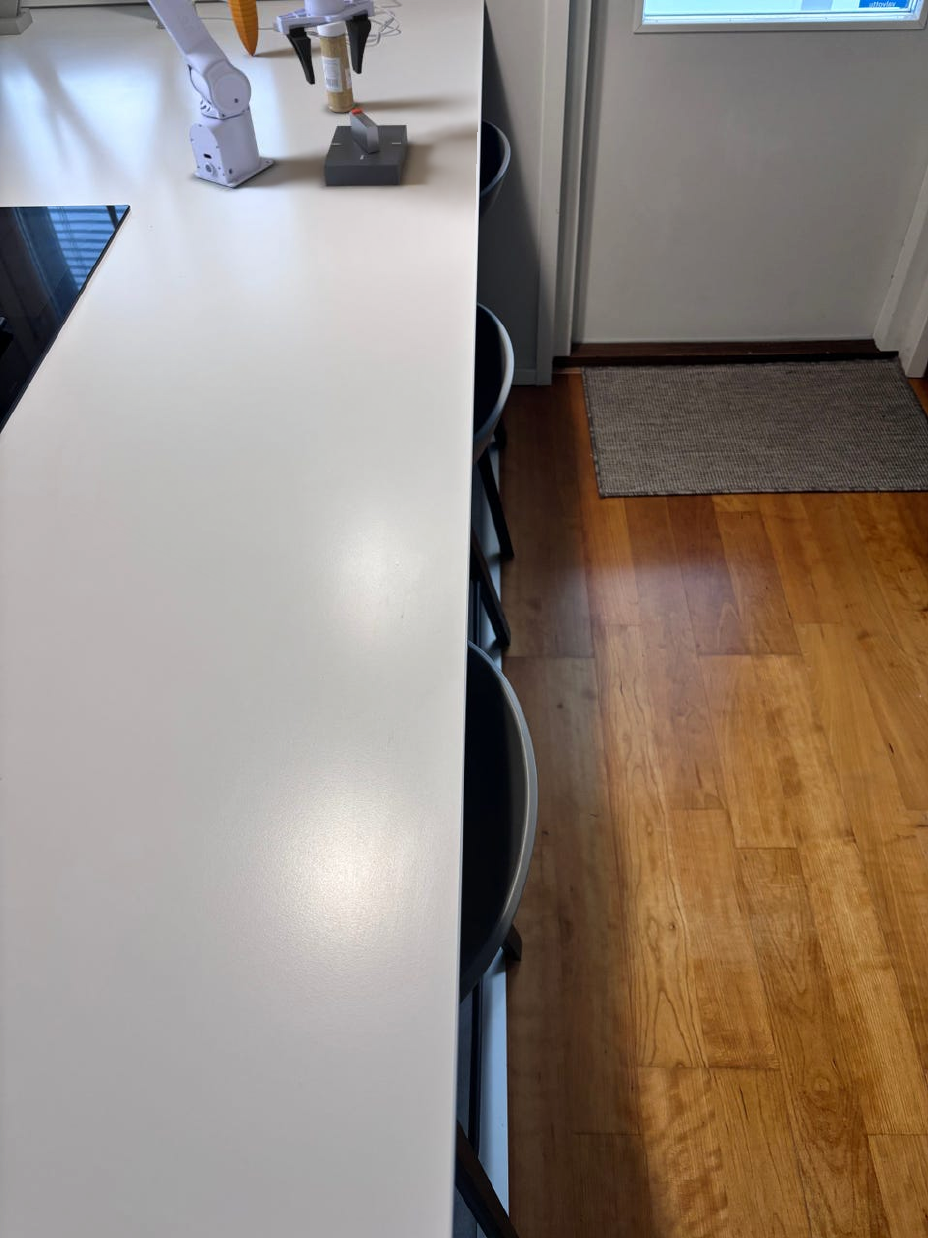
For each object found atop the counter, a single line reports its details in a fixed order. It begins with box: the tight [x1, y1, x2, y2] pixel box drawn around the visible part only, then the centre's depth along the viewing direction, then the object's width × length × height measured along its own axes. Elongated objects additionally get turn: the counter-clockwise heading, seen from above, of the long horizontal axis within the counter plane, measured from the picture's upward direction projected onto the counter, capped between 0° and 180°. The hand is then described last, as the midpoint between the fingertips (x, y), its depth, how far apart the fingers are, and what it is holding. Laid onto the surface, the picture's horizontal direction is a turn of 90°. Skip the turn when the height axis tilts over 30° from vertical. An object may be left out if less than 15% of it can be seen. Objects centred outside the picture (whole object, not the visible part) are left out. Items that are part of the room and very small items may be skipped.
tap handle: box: [348, 108, 380, 153], centre depth 143 cm, size 6×2×4 cm, turn 27°
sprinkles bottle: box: [316, 21, 356, 113], centre depth 156 cm, size 5×5×13 cm
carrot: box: [227, 0, 259, 57], centre depth 173 cm, size 5×5×15 cm
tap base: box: [322, 124, 409, 187], centre depth 145 cm, size 14×11×3 cm
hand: (334, 76), depth 146 cm, fingers open, 7 cm apart
